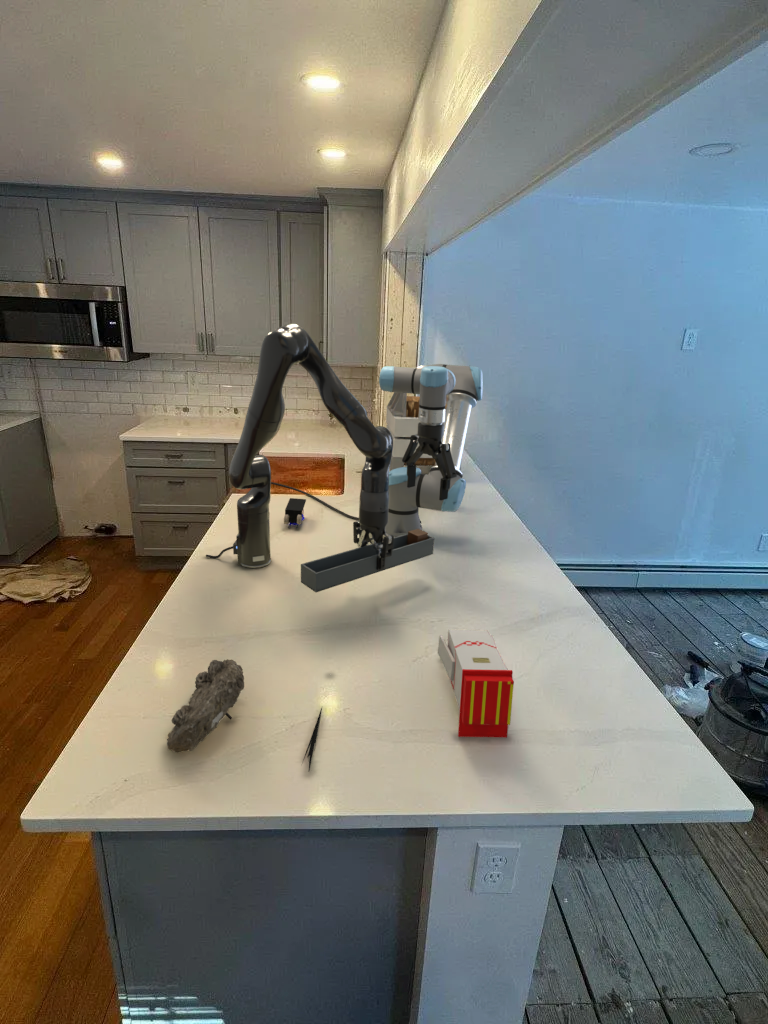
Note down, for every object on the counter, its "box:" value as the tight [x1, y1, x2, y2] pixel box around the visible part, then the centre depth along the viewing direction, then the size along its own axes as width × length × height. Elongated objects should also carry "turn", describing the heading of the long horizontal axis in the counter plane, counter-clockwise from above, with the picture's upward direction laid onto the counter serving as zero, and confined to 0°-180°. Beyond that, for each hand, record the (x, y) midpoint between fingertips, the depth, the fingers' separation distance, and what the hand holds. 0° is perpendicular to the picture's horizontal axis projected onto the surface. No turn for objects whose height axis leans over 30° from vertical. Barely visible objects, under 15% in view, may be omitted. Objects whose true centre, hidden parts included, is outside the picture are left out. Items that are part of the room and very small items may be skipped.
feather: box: [301, 673, 332, 771], centre depth 108 cm, size 2×28×2 cm
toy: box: [437, 628, 515, 738], centre depth 117 cm, size 12×13×30 cm
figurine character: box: [283, 497, 307, 529], centre depth 204 cm, size 7×8×15 cm
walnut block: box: [407, 529, 429, 545], centre depth 160 cm, size 4×4×6 cm
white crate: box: [385, 392, 463, 472], centre depth 268 cm, size 34×33×41 cm
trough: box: [300, 534, 435, 593], centre depth 150 cm, size 7×40×5 cm, turn 131°
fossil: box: [166, 658, 245, 754], centre depth 106 cm, size 22×10×15 cm
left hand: (371, 564), depth 150 cm, fingers closed on trough, 6 cm apart
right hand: (426, 492), depth 169 cm, fingers open, 13 cm apart
